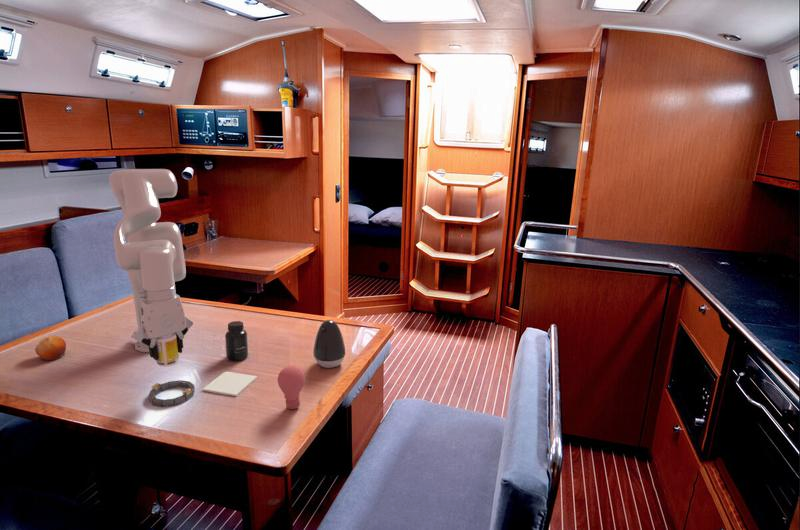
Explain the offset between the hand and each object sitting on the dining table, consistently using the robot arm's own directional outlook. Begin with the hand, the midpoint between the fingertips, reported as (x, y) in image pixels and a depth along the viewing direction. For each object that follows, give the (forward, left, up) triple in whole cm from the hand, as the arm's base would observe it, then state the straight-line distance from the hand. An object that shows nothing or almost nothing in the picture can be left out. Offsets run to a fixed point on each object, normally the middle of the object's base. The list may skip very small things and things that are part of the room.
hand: (167, 354), depth 129 cm
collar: (+1, 0, -12) cm, 12 cm away
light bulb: (+36, +4, -13) cm, 38 cm away
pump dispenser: (+36, +30, -13) cm, 48 cm away
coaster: (+13, +10, -12) cm, 20 cm away
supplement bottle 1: (0, 0, -3) cm, 3 cm away
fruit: (-52, +9, -13) cm, 55 cm away
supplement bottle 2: (+5, +26, -13) cm, 29 cm away
